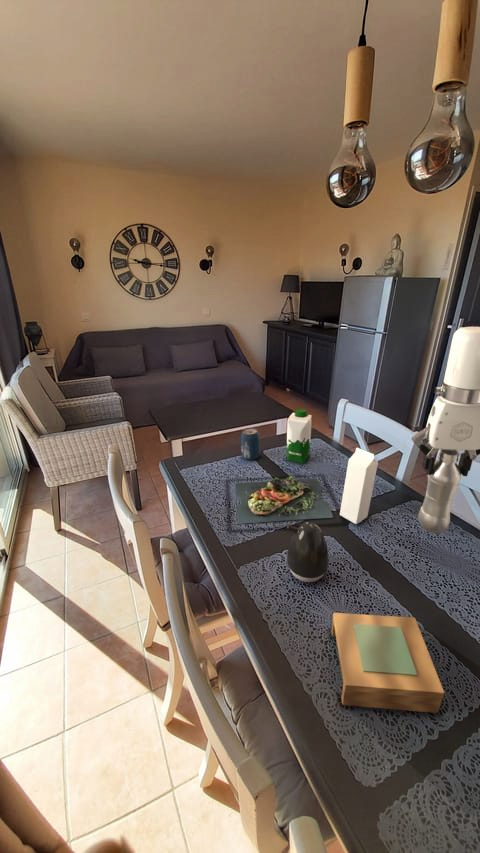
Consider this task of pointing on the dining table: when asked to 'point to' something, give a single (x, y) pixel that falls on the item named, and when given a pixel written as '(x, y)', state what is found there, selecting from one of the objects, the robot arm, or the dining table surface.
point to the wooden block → (385, 663)
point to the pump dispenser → (307, 552)
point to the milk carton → (298, 436)
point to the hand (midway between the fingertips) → (444, 471)
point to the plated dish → (280, 501)
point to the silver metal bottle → (440, 492)
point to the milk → (358, 486)
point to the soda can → (250, 444)
